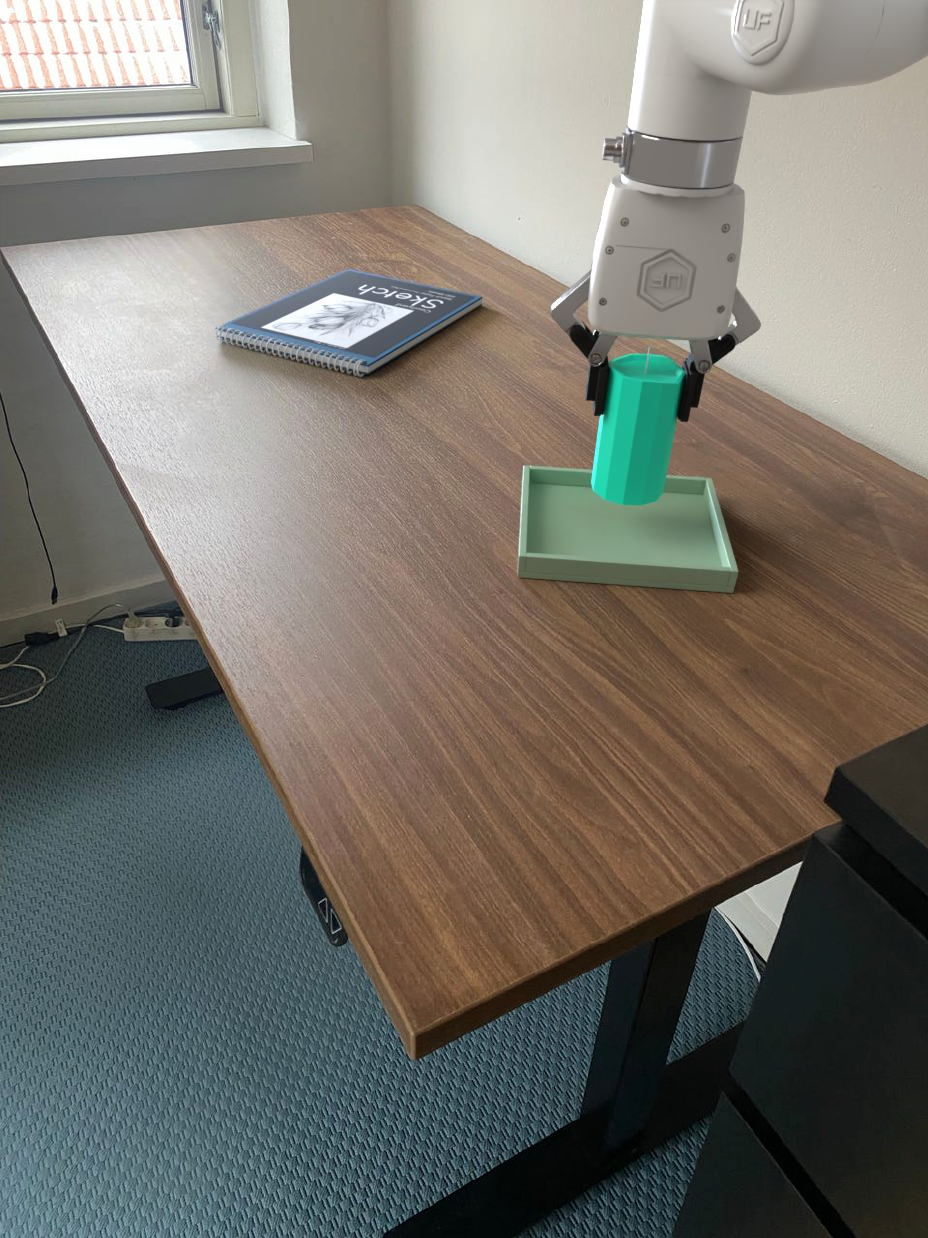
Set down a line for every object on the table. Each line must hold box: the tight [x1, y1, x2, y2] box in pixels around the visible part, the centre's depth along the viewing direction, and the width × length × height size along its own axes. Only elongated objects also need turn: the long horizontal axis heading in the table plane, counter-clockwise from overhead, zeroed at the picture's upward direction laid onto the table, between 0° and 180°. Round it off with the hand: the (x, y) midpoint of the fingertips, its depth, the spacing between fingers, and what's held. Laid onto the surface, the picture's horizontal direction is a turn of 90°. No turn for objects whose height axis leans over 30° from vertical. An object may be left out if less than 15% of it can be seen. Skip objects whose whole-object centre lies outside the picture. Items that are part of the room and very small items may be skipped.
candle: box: [591, 346, 686, 506], centre depth 73 cm, size 6×6×12 cm
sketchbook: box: [215, 268, 483, 378], centre depth 118 cm, size 22×30×2 cm
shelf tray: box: [516, 465, 739, 594], centre depth 79 cm, size 17×15×2 cm
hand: (639, 409), depth 73 cm, fingers closed on candle, 5 cm apart
